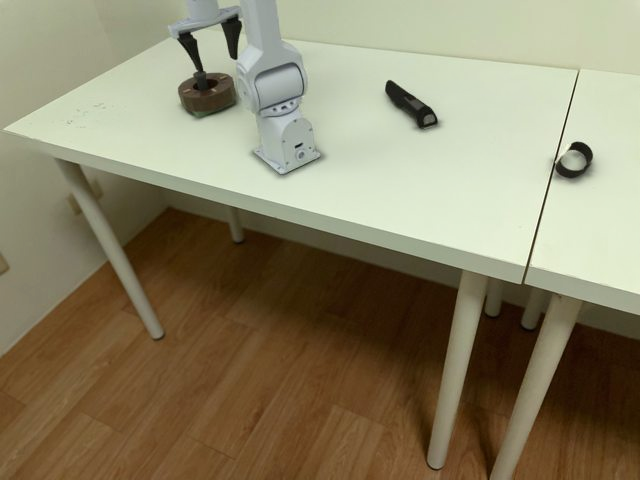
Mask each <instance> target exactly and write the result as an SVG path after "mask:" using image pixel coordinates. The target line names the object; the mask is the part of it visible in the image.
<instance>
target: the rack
mask: <svg viewBox="0 0 640 480" xmlns="http://www.w3.org/2000/svg"><path fill="white" fill-rule="evenodd" d="M203 71H204V72H199V71H197V70H196V71H194V72H193V73H192V77H194V78H195V79H196V82H197V85H198V89H199V91H204V90H209V87H208V84H207V80H206V76H207V74H206V73H207V71H205V70H203ZM233 105H234V100H233V101H232V102H231V103H229V104H228V105H226V106H224V107H221V108H219V109H216V110H211V111H206V112H194V111H190V112H191V113H192V114H193V115H194V116H196V117H197V119H199V118H203V117H206V116H207V115H210V114H213V113H215V112H218V111H221V110H223V109H225V108H228V107H230V106H233Z"/></svg>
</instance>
